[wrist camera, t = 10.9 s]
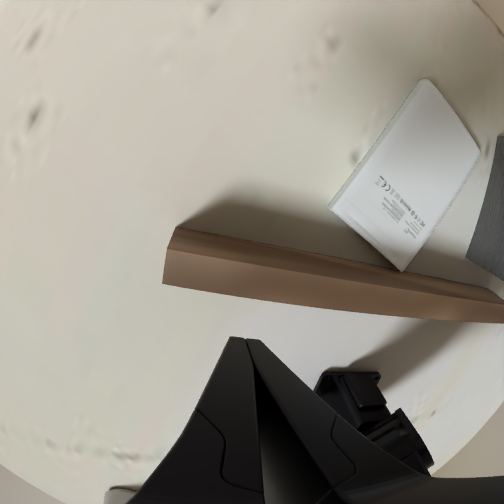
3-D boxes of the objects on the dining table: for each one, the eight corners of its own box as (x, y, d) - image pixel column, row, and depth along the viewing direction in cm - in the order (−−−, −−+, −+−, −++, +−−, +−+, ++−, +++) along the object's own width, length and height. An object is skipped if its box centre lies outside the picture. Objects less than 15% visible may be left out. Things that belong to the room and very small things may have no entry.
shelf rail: (480, 305, 26) (503, 323, 22) (170, 256, 20) (162, 283, 16) (488, 288, 25) (512, 306, 21) (175, 227, 19) (166, 248, 15)
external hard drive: (470, 152, 20) (393, 266, 23) (415, 80, 18) (323, 205, 20) (483, 155, 18) (404, 274, 21) (428, 77, 16) (332, 210, 19)
